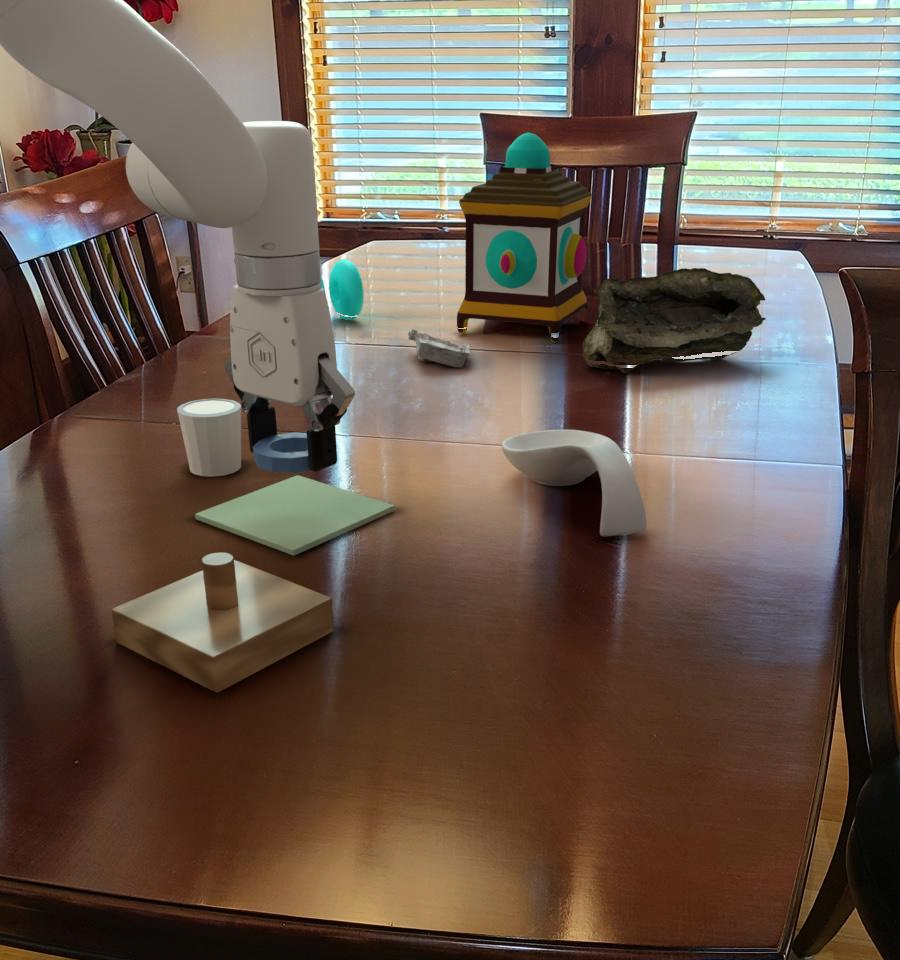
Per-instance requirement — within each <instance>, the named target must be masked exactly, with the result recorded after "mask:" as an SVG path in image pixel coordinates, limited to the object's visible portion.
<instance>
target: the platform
mask: <svg viewBox="0 0 900 960" xmlns="http://www.w3.org/2000/svg"><path fill="white" fill-rule="evenodd" d="M201 568H202V569H201V570H199V571H198V572H195V573H192V574H191V575H188V576H186V577H184V578H183V577H182V578H181V579H179V580H176V581H174V582H172V583H169V584H167V585H165V586H162V587H160V588H158V589H155V590H153V591H150V592H148V593H146V594H143V595H141V596H138V597H136V598H134V599H132V600H129V601H127V602H124V603H122V604H120V605H118V606H116V607H113V608H112V609H111V615H112V622H113V627H114V628H113V629H114V634H115V640H116V643H117V644H119V645H120V646H123V647H125V648H126V649H129V650H131V651H132V652H134V653H137V654H138V655H140V656H143V657H145V658H146V659H149V660H151V661H152V662H154V663H156V664H159V665H161V666H162V667H164V668H166V669H168V670H170V671H172V672H175V673H176V674H178V675H180V676H182V677H184V678H186V679H187V680H190V681H192V682H194V683H196V684H198V685H200V686H202V687H204V688H206V689H207V690H210V691H212V692H214V693H215V694H218V693H221V692H222V691H224V690H226V689H228V688H230V687H231V686H234V685H235V684H238V683H240V682H241V681H243V680H244V679H247V678H248V677H250V676H252V675H254V674H256V673H258V672H260V671H262V670H264V669H265V668H267V667H269V666H271V665H272V664H275V663H276V662H278V661H280V660H282V659H284V658H286V657H288V656H290V655H292V654H293V653H296V652H297V651H299V650H301V649H303V648H304V647H307V646H309V645H310V644H313V643H314V642H316V641H318V640H320V639H322V638H323V637H325V636H327V635H329V634H331V633H333V632H334V631H335V627H334V612H333V611H334V609H333V598H332V597H331V596H328V595H325V594H323V593H320V592H317V591H315V590H313V589H310V588H307V587H306V586H302V585H300V584H297V583H295V582H292V581H290V580H287V579H284V578H282V577H279V576H277V575H274V574H272V573H269V572H267V571H265V570H261V569H259V568H256V567H254V566H251V565H249V564H247V563H244V562H241V561H239V560H237V559H235V558H234V556H233V554H231V553H228V552H213V553H209V554H206V555H204V556H203V557H202V558H201Z"/></svg>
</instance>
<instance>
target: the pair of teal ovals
mask: <svg viewBox="0 0 900 960" xmlns="http://www.w3.org/2000/svg"><path fill="white" fill-rule="evenodd" d="M324 283H325V282H324V280H323V278H322V276H321V288H323V289H324V290H325V291H326V288H325V284H324ZM363 285H364V284H363V280H362V276H361V274H360V271H359V269H358V268H357V266H356V264H355V263H353V262H352V260H349V259H340V260H338V261H337V262H335V264H334V265H333V267H332V268H331V271H330V273H329V279H328V291H329V297H330V302H331V304H332V308H333V310H334V311H335V312H336V313H337V312H338V313H340V314H343V315H348V316H355V315H359V316H360V315H361V312H362V310H363V306H364V297H365V296H364V295H365V293H364V286H363ZM337 315H338V316H339V317H340V318H341V319H343V320H345V321H354V320H356V319H357V318H358V317H352V318H351V317H344V316H341V315H339V314H337Z"/></svg>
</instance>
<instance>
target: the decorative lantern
mask: <svg viewBox="0 0 900 960" xmlns="http://www.w3.org/2000/svg"><path fill="white" fill-rule="evenodd" d="M550 153H551V152H550V149H549V147H548V146H547V145H546V144H545V142H544V140H542V139H541V137H540V136H538V135H537V134H535V133H531V132H526V133H523V134H520V135H519V136H518V137H517V138H516V139H514V141H513V142H512V143H511V144H510V145H509V147H507V149H506V152H505V165H502V166H499V170H498V172H496V173H493V175H492V177H491V178H490V179H487V180H486V181H485V183H482V184H478V185H474V186H472V187H471V188H470V191H467V192H465V194H464V195H463V197H462V198H460V199H459V201H458V204H459V207H460V209H461V211H462V214H463V216H464V220H465V248H464V251H465V252H464V253H465V269H464V270H465V276H464V277H465V281H464V282H465V283H464V284H465V287H464V288H465V290H464V298H463V300H462V302H461V304H460V306H459V308H458V310H457V314H456V329H457V332H458V333H459V334H460V335H465V334H466V333H467V331H468V324H469V320H470V319H471V320H472V319H473V320H486V321H495V322H506V323H507V322H509V323H521V324H531V325H532V324H533V325H542V326H546V327H547V328H548V330H549V333H550V332H551V333H558V332H560V333H561V327H562V325H563V323H564V322H565V321H567V320H569V319H570V318H571V317H572V316H574V315H577V312H578V311H580V310H586V309H588V310H589V301H588V300H587V296H586V294H585V292H584V290H583V286H582V272H583V271H584V269H585V267H586V263H587V251H588V250H587V245H586V241H585V239H584V234H585V214H586V210H587V208H588V206H589V204H590V202H591V200H592V197H593V194H592V192H591V191H589V190H588V187H586V186H583V185H582V182H580V181H577V180H576V181H573V180H570V179H569V177H568V176H565V175H563V173H562V171H561V170H559V169H558V170H557V169H556V164H551V154H550ZM457 327H458V328H464V327H467V328H466V329H458V328H457ZM559 339H560V336H559V337H558V338H553V337H550V341H551V343H553V344H554V343H557V342H558V341H559Z"/></svg>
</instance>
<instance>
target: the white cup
mask: <svg viewBox="0 0 900 960" xmlns="http://www.w3.org/2000/svg"><path fill="white" fill-rule="evenodd" d="M176 410H177V417H178V420H179V426H180V429H181V434H182V440H183V443H184V448H185V449H184V450H185V453H186V458H187V462H188V468H189V472H190V473H192V474H193V475H196V476H199V477H212V478H213V477H224V476H228V475H230V474H231V475H232V474H234V473H236V472H237V471H239V470H240V469H241V468H242V408H241V403H240V402H238V401H236V400H234V399H233V400H232V399H227V398H203V399H196V400H190V401H188V402H184V403H182V404H180V405H179V406H178V407H176Z"/></svg>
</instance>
